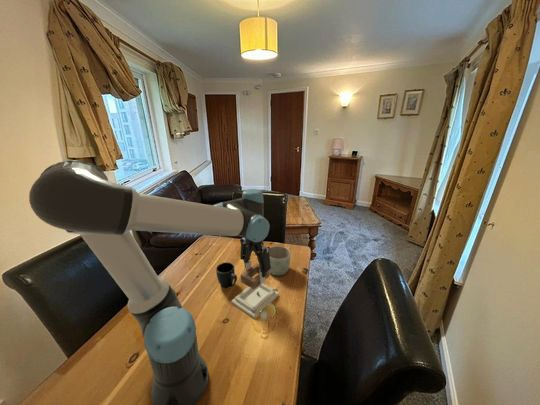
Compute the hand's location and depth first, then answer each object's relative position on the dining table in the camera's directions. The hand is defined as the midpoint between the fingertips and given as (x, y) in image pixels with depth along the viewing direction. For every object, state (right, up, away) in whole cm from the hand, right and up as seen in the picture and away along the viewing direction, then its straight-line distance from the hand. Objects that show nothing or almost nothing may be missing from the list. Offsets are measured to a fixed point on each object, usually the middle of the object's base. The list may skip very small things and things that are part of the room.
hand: (255, 278), depth 90 cm
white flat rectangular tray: (0, -10, +3) cm, 11 cm away
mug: (-13, -8, +11) cm, 19 cm away
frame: (0, 0, 0) cm, 0 cm away
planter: (+10, -4, +22) cm, 25 cm away
